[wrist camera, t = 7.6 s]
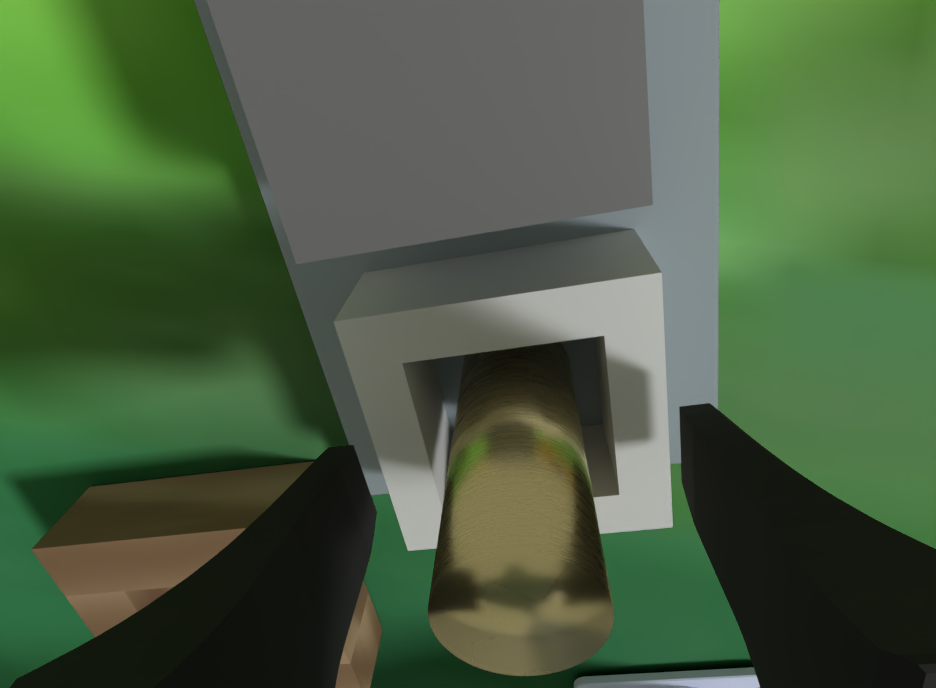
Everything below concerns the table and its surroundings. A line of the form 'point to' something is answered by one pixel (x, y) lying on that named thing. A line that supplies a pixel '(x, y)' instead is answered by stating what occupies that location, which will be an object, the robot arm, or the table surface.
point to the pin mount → (174, 548)
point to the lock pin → (519, 522)
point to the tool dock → (491, 215)
